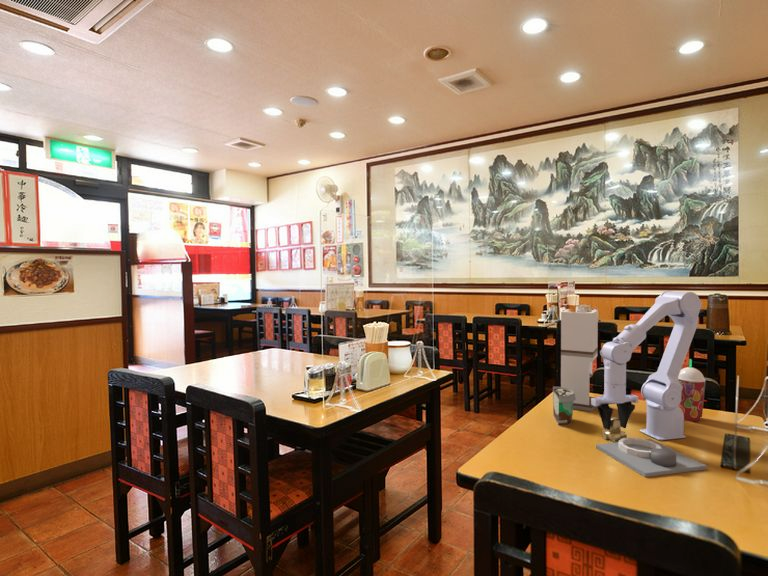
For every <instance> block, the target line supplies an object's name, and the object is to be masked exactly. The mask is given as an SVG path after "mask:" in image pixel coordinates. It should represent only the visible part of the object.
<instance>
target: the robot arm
mask: <svg viewBox="0 0 768 576" xmlns="http://www.w3.org/2000/svg"><path fill="white" fill-rule="evenodd" d="M702 306H703V303H702V301H701V299H700V298H699V296H698V294H696V293H695V292H693V291H674V290H665V291H664V290H663V292H661V293H660V294H659V296H657V297H656V298H655V301H654V304H653V305H651V306H650V308H648V310H647V311H646V312H645V314H643V315H642V317H641V318H640V319H639V320H638V321H637V323H635V324H631V323H630V324H628V325H625V326H624V327H623V330H622V331H621V332H620V333H619V334H618V335H617V336H616V337H613V338H612V341H607V342H605V343H604V344H603V345H602V348H601V350H599V354H600V356H601V358H602V360H603V365H604V366H603V367H604V371H603V372H604V373H603V374H604V375H603V377H604V378H603V379H604V380H603V382H604V385H603V386H604V388H603V389H604V391H603V395H601V396H597V397H596V396H595V397H596V398H591V405H593V406H595V408H596V410H597V411H598V414H599V417H600V419H601V423H602V427H603V428H604V430H606V429H607V430H610V427H611V417H613V413H614V412H613V411H614V408H613V407H611V406H610V405H616V408H617V414H618V416H617V418H619V419H621V428H622V429H626V428H627V426H628V422H629V419H630V416H631V415H632V413H633V411H634V410H636V405H635V404H638V403H639V396H638V395H636V394H627V390H626V389H627V362H630V360H631V358H632V354H633V352H634V350H635V349H637V347H638V346H639V345H640V344H642V342H643V341H644V340H646V338H647V332H648V331H649V330H650V329H651V328H652V327H654V326H655V325H657V323H658V322H660V321H661V320H662V319H664V318H665V317H666V316H668V317H669V318H670V319H671V320H672V322H673V323H674V325H673V328H672V331H671V333H670V336H669V339H668V341H667V344H666V346H665V350H664V352H663V354H662V358H661V360H660V363H659V366H658V367H657V371H655V372H653V373H651V374H649V376H648V377H647V379H646V381H645V382H644V383H643V384H642V386H641V389H640V394H641V396H642V398H643V399H644V402H645V404H646V418H645V419H646V423H645V424H646V426H645V427H646V428H642V429H639V432H640V433H643V434H645V435H646V436H649V437H651V438H653V439H655V440H657V441H666V440H676V439H685V438H687V436H686V434H685V435H684V429H685V427H684V426H685V425H684V424H685V422H684V421H685V420H684V415H683V412H682V410H681V409H680V408H679V407H678V405H679V404H680V402H681V391H682V388H683V387H682V385H681V384H680V382H679V381H678V376H679V373H680V371H681V369H683V365H684V362H685V360H686V356H687V355H688V351H689V350H690V347H691V343H692V341H693V338H694V335H695V333H696V330H697V328H698V325H699V324H698V323H699V314H700V311H701V308H702ZM633 403H634V404H633Z"/></svg>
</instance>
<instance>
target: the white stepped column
mask: <svg viewBox="0 0 768 576" xmlns="http://www.w3.org/2000/svg"><path fill="white" fill-rule="evenodd" d="M598 313H599V310H598V309H594V310H593V311H589V312H587V311H586V312H584V311H581V312H580V311H579V312H576V311H571V308H567V309H564V310H561V311H560V387H563V388H567V389H570V390H572V391H573V392H574V394H575V397H576V400H574V401H573V409H574V410H580V411H581V410H582V411H588V412H593V411H594V410H595V408H596V407H595V406H593V405H591V398H596V396H590V378H592V377H593V363H594V361H595V360H596V358H597V357H598V350H599V349H598V347H599V346H598V337H599V335H598V334H599V332H598V331H599V330H598V328H599V327H598V326H599V325H598V323H599V317H598V316H599V315H598Z"/></svg>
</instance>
